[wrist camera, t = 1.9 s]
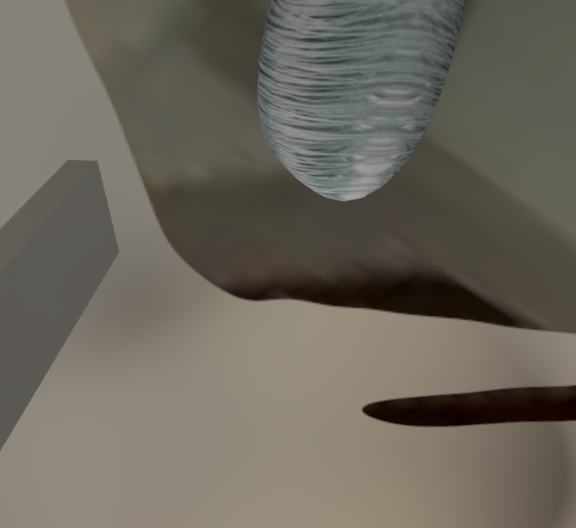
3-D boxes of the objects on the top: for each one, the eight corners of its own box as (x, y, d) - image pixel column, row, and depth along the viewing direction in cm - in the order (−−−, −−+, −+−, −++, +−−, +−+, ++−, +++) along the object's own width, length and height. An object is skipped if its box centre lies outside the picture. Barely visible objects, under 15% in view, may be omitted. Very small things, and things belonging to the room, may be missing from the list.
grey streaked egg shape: (262, -178, 21) (357, -59, 16) (452, -132, 25) (581, -24, 19) (211, 106, 31) (259, 235, 26) (351, 108, 35) (417, 221, 30)
